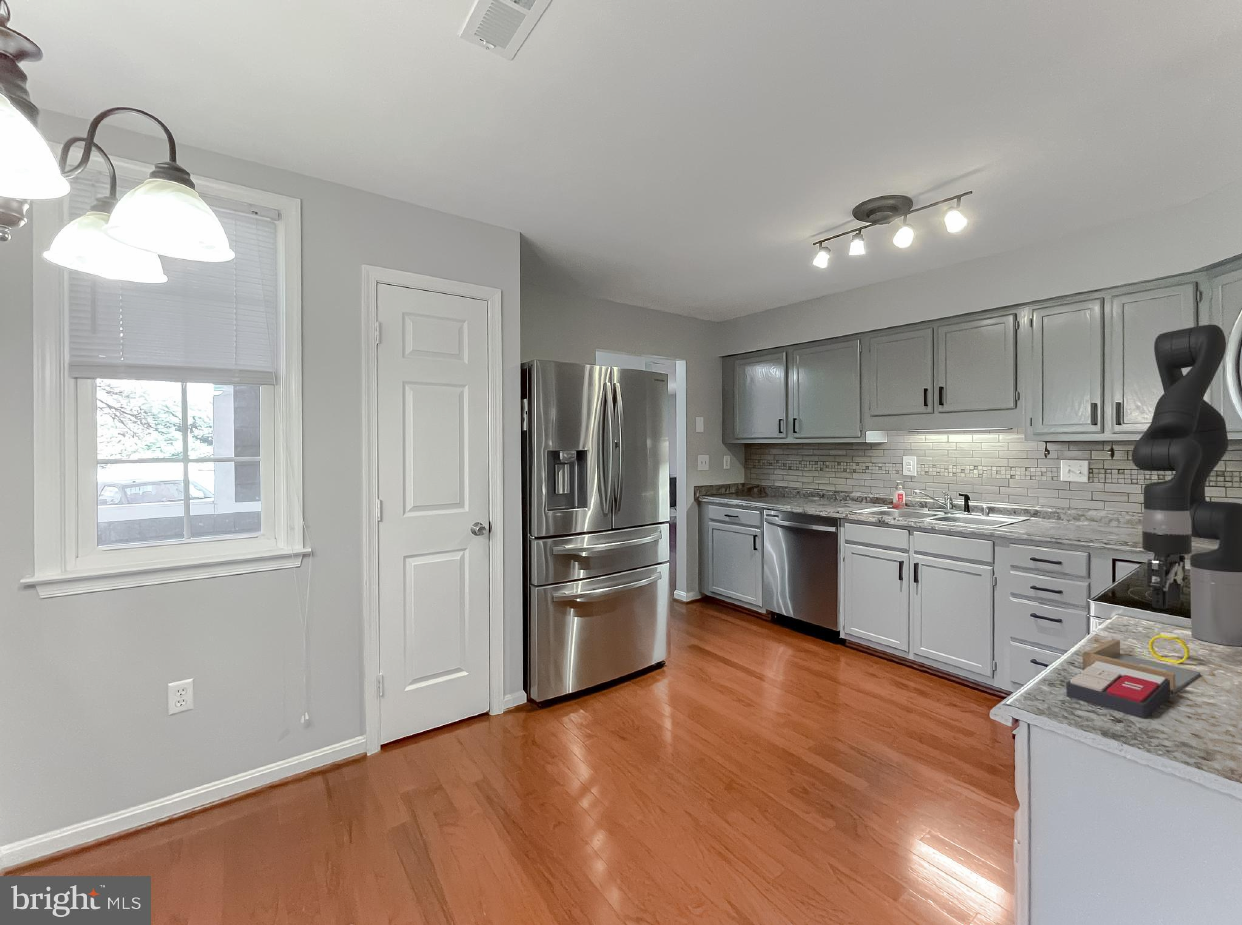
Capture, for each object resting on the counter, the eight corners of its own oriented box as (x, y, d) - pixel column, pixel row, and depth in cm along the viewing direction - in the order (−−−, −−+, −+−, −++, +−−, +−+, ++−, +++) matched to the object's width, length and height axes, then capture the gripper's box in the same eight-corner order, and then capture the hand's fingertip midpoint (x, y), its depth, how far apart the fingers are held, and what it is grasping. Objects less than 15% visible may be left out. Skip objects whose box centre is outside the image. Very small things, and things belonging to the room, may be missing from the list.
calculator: (1065, 678, 100) (1094, 657, 108) (1065, 701, 100) (1095, 678, 108) (1144, 700, 91) (1170, 675, 99) (1145, 725, 91) (1171, 698, 99)
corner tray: (1113, 654, 120) (1112, 638, 120) (1200, 675, 108) (1199, 657, 108) (1082, 670, 112) (1082, 652, 112) (1173, 693, 100) (1173, 674, 100)
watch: (1189, 665, 114) (1191, 638, 114) (1185, 668, 113) (1188, 640, 112) (1151, 654, 119) (1153, 628, 119) (1147, 657, 118) (1149, 631, 117)
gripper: (1154, 526, 122) (1155, 596, 122) (1130, 531, 115) (1131, 605, 115) (1201, 530, 116) (1202, 604, 116) (1179, 535, 109) (1179, 614, 109)
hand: (1166, 604), depth 116 cm, fingers open, 8 cm apart
